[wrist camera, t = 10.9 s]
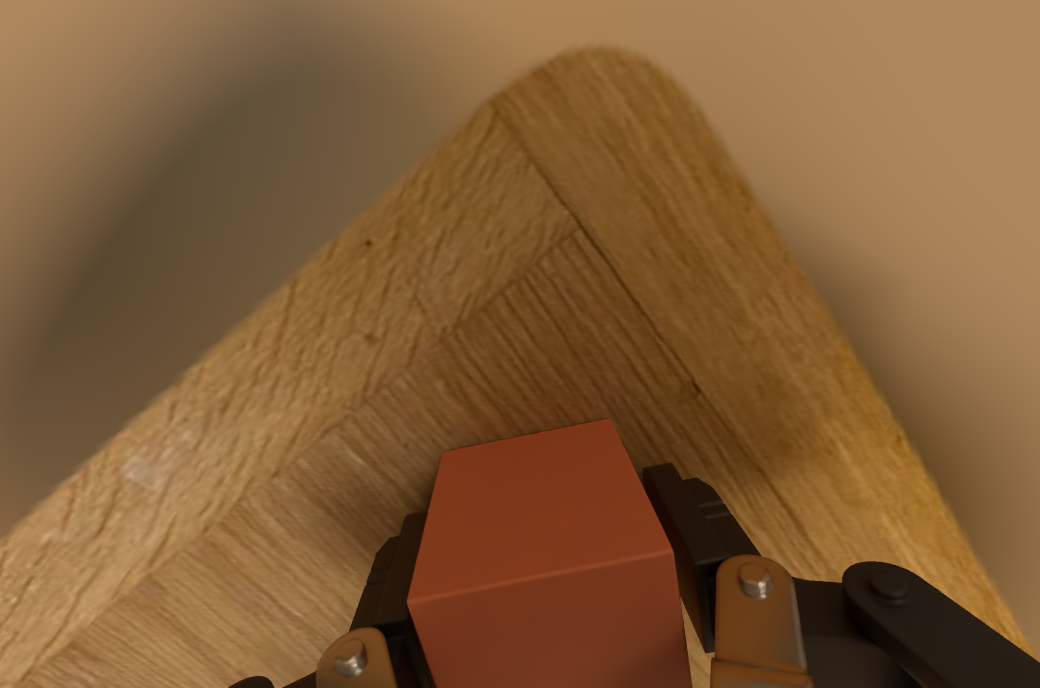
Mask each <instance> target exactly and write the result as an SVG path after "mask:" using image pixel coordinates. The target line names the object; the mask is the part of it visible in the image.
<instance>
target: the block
mask: <svg viewBox="0 0 1040 688" xmlns="http://www.w3.org/2000/svg"><path fill="white" fill-rule="evenodd" d="M407 605H408V608H409V611H410V614H411V617H412V620H413V623H414V625H415V628H416V631H417V634H418V637H419V640H420V643H421V646H422V648H423V651H424V654H425V657H426V660H427V663H428V666H429V669H430V671H431V674H432V677H433V680H434V683H435V686H436V688H693V687H692V680H691V673H690V666H689V658H688V651H687V644H686V637H685V630H684V622H683V615H682V608H681V601H680V594H679V587H678V579H677V572H676V565H675V558H674V551H673V549H672V547H671V545H670V542H669V540H668V538H667V536H666V534H665V532H664V530H663V528H662V526H661V523H660V521H659V519H658V517H657V515H656V513H655V511H654V509H653V507H652V505H651V502H650V500H649V498H648V496H647V494H646V492H645V490H644V488H643V486H642V483H641V481H640V479H639V477H638V475H637V473H636V471H635V469H634V467H633V465H632V462H631V460H630V458H629V456H628V454H627V452H626V450H625V448H624V446H623V444H622V441H621V439H620V437H619V435H618V433H617V431H616V429H615V427H614V425H613V422H612V420H611V419H609V418H607V419H603V420H598V421H593V422H588V423H583V424H578V425H573V426H568V427H563V428H558V429H553V430H548V431H543V432H539V433H534V434H529V435H524V436H519V437H514V438H509V439H504V440H499V441H494V442H489V443H484V444H479V445H474V446H470V447H465V448H460V449H455V450H450V451H445V452H443V453H442V456H441V460H440V464H439V468H438V473H437V477H436V481H435V485H434V489H433V494H432V498H431V502H430V506H429V510H428V514H427V519H426V523H425V527H424V531H423V535H422V540H421V544H420V548H419V552H418V556H417V560H416V565H415V569H414V573H413V577H412V581H411V586H410V590H409V594H408V598H407Z"/></svg>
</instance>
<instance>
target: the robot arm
mask: <svg viewBox="0 0 1040 688" xmlns="http://www.w3.org/2000/svg"><path fill="white" fill-rule="evenodd" d="M643 477H644V484H645V490H646V494H647V496H648V498H649V500H650V502H651V505H652V507H653V509H654V511H655V513H656V515H657V517H658V519H659V521H660V523H661V526H662V528H663V530H664V532H665V534H666V536H667V538H668V540H669V542H670V545H671V547H672V549H673V551H674V558H675V565H676V572H677V579H678V587H679V594H680V597H681V599H682V601H683V603H684V606H685V608H686V610H687V613H688V615H689V617H690V619H691V622H692V624H693V626H694V629H695V631H696V633H697V635H698V638H699V640H700V642H701V644H702V647H703V649H704V651H705V653H711V652H715V657H714V658H713V657H712V659H711V673H710V688H1040V663H1039V662H1038V661H1037V660H1035V659H1034V658H1032V657H1031V656H1030V655H1028V654H1027V653H1025V652H1024V651H1023V650H1021V649H1020V648H1018V647H1017V646H1016V645H1014V644H1013V643H1011V642H1010V641H1009V640H1007V639H1006V638H1004V637H1003V636H1002V635H1000V634H999V633H998V632H996V631H995V630H993V629H992V628H991V627H989V626H988V625H986V624H985V623H984V622H982V621H981V620H979V619H978V618H977V617H975V616H974V615H972V614H971V613H970V612H968V611H967V610H965V609H964V608H963V607H961V606H960V605H958V604H957V603H956V602H954V601H953V600H951V599H950V598H949V597H947V596H946V595H944V594H943V593H942V592H940V591H939V590H937V589H936V588H935V587H933V586H932V585H930V584H929V583H928V582H926V581H925V580H923V579H922V578H921V577H919V576H917V575H916V574H914V573H913V572H911V571H909V570H907V569H904V568H902V567H899V566H896V565H893V564H889V563H884V562H876V561H867V562H860V563H857V564H854V565H852V566H850V567H849V568H848V569H846V571H845V572H844V574H843V577H842V583H837V582H823V581H810V580H803V579H799V578H795V577H792V576H791V575H790V574H789V573H788V571H787V570H786V569H785V568H784V567H782V566H781V565H780V564H778V563H777V562H775V561H773V560H771V559H768V558H765V557H762V556H761V554H760V553H759V552H758V550H757V549H756V547H755V546H754V545H753V543H752V542H751V540H750V539H749V537H748V536H747V535H746V533H745V532H744V530H743V529H742V528H741V526H740V525H739V523H738V522H737V521H736V519H735V518H734V516H733V515H731V513H730V511H729V509H728V508H727V507H726V505H725V504H723V501H722V500H721V498H720V497H719V495H718V494H717V493H716V491H715V490H714V488H713V487H711V486H710V485H708V484H706V483H705V482H703V481H701V480H700V479H698V478H692V479H687V480H682V478H681V477H680V475H679V473H678V472H677V470H676V469H675V467H674V465H673V464H672V463H666V464H661V465H656V466H651V467H646V468H643ZM427 514H428V510H427V511H422V512H417V513H412V514H407V515H406V517H405V520H404V523H403V527H402V530H401V533H400V536H396V537H391V538H389V539H388V540H387V541H386V543H385V544H384V545H383V546H382V547H381V549H380V550H379V551H378V552H377V554H376V557H375V560H374V562H373V565H372V568H371V572H370V574H369V576H368V579H367V582H366V583H367V586H365V588H364V590H363V593H362V596H361V599H360V602H359V605H358V607H357V610H356V613H355V616H354V619H353V621H352V624H351V627H350V630H349V632H348V633H346V634H345V635H343V636H341V637H340V638H338V639H337V640H336V641H335V642H334V643H332V644H331V645H330V646H329V647H328V649H327V650H326V651H325V652H324V654H323V655H322V657H321V659H320V661H319V663H318V666H317V670H316V671H315V672H313V673H312V674H310V675H308V676H306V677H304V678H302V679H299V680H297V681H295V682H293V683H291V684H289V685H287V686H285V687H283V688H436V686H435V683H434V680H433V677H432V674H431V671H430V669H429V666H428V663H427V660H426V657H425V654H424V651H423V648H422V646H421V643H420V640H419V637H418V634H417V631H416V628H415V625H414V623H413V620H412V617H411V614H410V611H409V608H408V605H407V598H408V594H409V590H410V586H411V581H412V577H413V573H414V569H415V565H416V560H417V556H418V552H419V548H420V544H421V540H422V535H423V531H424V527H425V523H426V519H427ZM229 688H274V686H273V684H272V682H271V681H270V680H269V679H268V678H266V677H263V676H254V677H250V678H246V679H244V680H241V681H239V682H237V683H235V684H233V685H232V686H230V687H229Z"/></svg>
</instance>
